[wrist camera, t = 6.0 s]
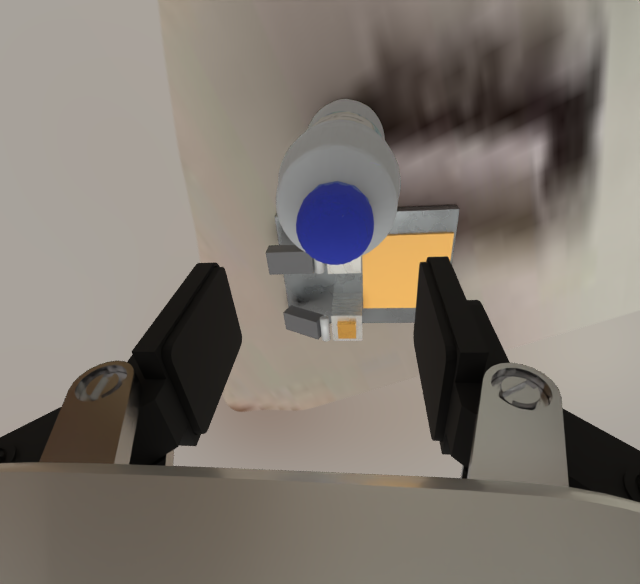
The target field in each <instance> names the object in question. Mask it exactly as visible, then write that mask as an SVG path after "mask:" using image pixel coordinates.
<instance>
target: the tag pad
mask: <svg viewBox="0 0 640 584" xmlns="http://www.w3.org/2000/svg"><path fill="white" fill-rule="evenodd" d="M453 238H454V232H444V233H415V234H388V235H387V236H386V238H385V239H384V240H383V241H382V242H381V243H380V244H379V245H378V246H377V247H375V248H374V249H373V250H371V251H370V252H368V253H366V254H364V255H362V265H363V308H416V299H417V287H418V275H419V264H420V262H426V260H427V257H444V256H448V258H449V260H451V253H452V246H453Z"/></svg>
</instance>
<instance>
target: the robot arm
mask: <svg viewBox="0 0 640 584" xmlns="http://www.w3.org/2000/svg"><path fill="white" fill-rule="evenodd" d="M241 343H242V334H241V330H240V326H239V322H238V318H237V314H236V310H235V306H234V302H233V299H232V295H231V291H230V287H229V283H228V279H227V275H226V271H225V269H224V268H223V267H219V265H218V264H217V263H198V264H196V266H195V267H194V268H193V270H192V271H191V272H190V274H189V275H188V276H187V278H186V279H185V281H184V282H183V283H182V284H181V286H180V287H179V289H178V290H177V291H176V293H175V294H174V295H173V297H172V298H171V299H170V301H169V302H168V303H167V305H166V306H165V307H164V309H163V310H162V311H161V313H160V314H159V316H158V317H157V318H156V319H155V321H154V322H153V324H152V325H151V326H150V328H149V329H148V330H147V332H146V333H145V334H144V336H143V337H142V338H141V340H140V341H139V342H138V344H137V345H136V346H135V348H134V349H133V351H132V354H133V355H132V356H131V357H130V359H129V360H128V362H125V361H110V362H106V363H102V364H99V365H97V366H95V367H93V368H91V369H89V370H87V371H86V372H85V373H83V374H82V375H80V376H79V377H78V378H77V379H76V380H75V381H74V382H73V384H72V385H71V387H70V388H69V390H68V392H67V395H66V398H65V400H64V402H63V405H62V407H60V408H58V409H56V410H54V411H52V412H50V413H48V414H46V415H44V416H42V417H40V418H38V419H36V420H34V421H32V422H30V423H28V424H26V425H24V426H22V427H20V428H18V429H16V430H14V431H12V432H10V433H8V434H6V435H4V436H2V437H0V584H640V451H639V450H637V449H635V448H634V447H632V446H630V445H628V444H626V443H625V442H623V441H621V440H619V439H617V438H615V437H614V436H612V435H610V434H608V433H606V432H604V431H603V430H601V429H599V428H597V427H595V426H593V425H592V424H590V423H588V422H586V421H584V420H583V419H581V418H579V417H577V416H575V415H574V414H572V413H570V412H568V411H566V410H564V409H563V408H562V398H561V394H560V391H559V389H558V387H557V386H556V385H555V383H554V382H553V381H552V380H551V379H550V378H549V377H547V376H546V375H545V374H543V373H542V372H540V371H538V370H536V369H534V368H532V367H529V366H526V365H523V364H517V363H510V362H509V360H508V358H507V356H506V354H505V352H504V350H503V348H502V345H501V343H500V341H499V339H498V337H497V335H496V333H495V331H494V329H493V327H492V324H491V322H490V320H489V318H488V316H487V314H486V312H485V310H484V308H483V306H482V304H481V302H480V301H478V300H466V298H465V295H464V293H463V290H462V288H461V286H460V283H459V281H458V279H457V276H456V274H455V272H454V269H453V267H452V264H451V262H450V260H449V258H448V256H444V257H427V260H426V262H420V264H419V275H418V287H417V299H416V311H415V324H414V347H415V352H416V357H417V363H418V368H419V374H420V379H421V384H422V389H423V395H424V400H425V405H426V411H427V417H428V422H429V427H430V433H431V437H432V440H434V441H435V440H436V441H440V445H441V451H442V454H450V455H451V456H452V457H453V458H454V459H456V460H457V461H458V462H460V463H461V464H462V465H463V466H462V472H461V478H443V477H422V476H421V477H419V476H399V475H378V474H377V475H376V474H355V473H334V472H311V471H286V470H263V469H237V468H213V467H186V466H173V460H174V449H175V448H176V447H178V446H179V445H182V446H196V445H197V442H198V440H199V438H200V435H201V434H204V433H206V432H207V430H208V428H209V425H210V423H211V420H212V418H213V415H214V413H215V410H216V407H217V405H218V402H219V400H220V397H221V395H222V392H223V390H224V387H225V385H226V382H227V380H228V377H229V374H230V372H231V369H232V367H233V364H234V362H235V359H236V357H237V354H238V352H239V349H240V346H241Z"/></svg>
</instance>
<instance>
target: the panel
mask: <svg viewBox="0 0 640 584" xmlns="http://www.w3.org/2000/svg"><path fill="white" fill-rule="evenodd" d="M458 215H459V208H458V206H457V205H447V206H424V207H400V208H397V213H396V218H395V220H394V223H393V226H392V228H391V230H390V231H389V233H388V234H415V233H444V232H454V238H453V246H452V253H451V260H450V262H451V264H452V259H453V252H454V244H455V237H456V230H457V223H458ZM275 222H276V228H277V235H278V241H279V245H295V244H294V243H293V242H292V241H291V240H290V239H289V237H288V236H287V235H286V233H285V232H284V230H283V228H282V226H281V224H280V222H279V218H278V215H277V213H276V215H275ZM324 266H325V272H324V273H322V274H317V273H315V268H314V274H284V280H285V286H286V293H287V299H288V306H289V307H290V306H291V305H292V306H295V307H299V308H302V309H305V310H309V311H312V312H316V313H319V314H323V315H324V316H328V317H329V323H332V334H333V341H362V323H415V311H416V308H363V265H362V256H360V257H358V258H357V259H355V260H352V261H351V262H348V263H345V264H340V265H329V264H324Z"/></svg>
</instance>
